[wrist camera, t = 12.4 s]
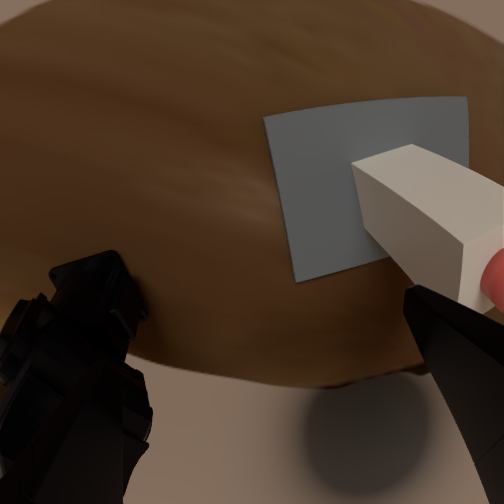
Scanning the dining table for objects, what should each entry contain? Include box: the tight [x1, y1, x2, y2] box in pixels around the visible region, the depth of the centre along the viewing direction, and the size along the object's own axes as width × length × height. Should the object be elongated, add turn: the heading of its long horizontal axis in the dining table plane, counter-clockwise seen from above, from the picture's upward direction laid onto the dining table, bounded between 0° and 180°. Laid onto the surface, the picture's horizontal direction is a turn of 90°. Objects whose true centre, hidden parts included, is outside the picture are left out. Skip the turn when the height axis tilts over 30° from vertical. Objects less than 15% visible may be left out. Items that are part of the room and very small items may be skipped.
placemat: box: [262, 96, 469, 283], centre depth 20 cm, size 16×12×1 cm
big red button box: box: [351, 144, 504, 314], centre depth 14 cm, size 5×5×12 cm
